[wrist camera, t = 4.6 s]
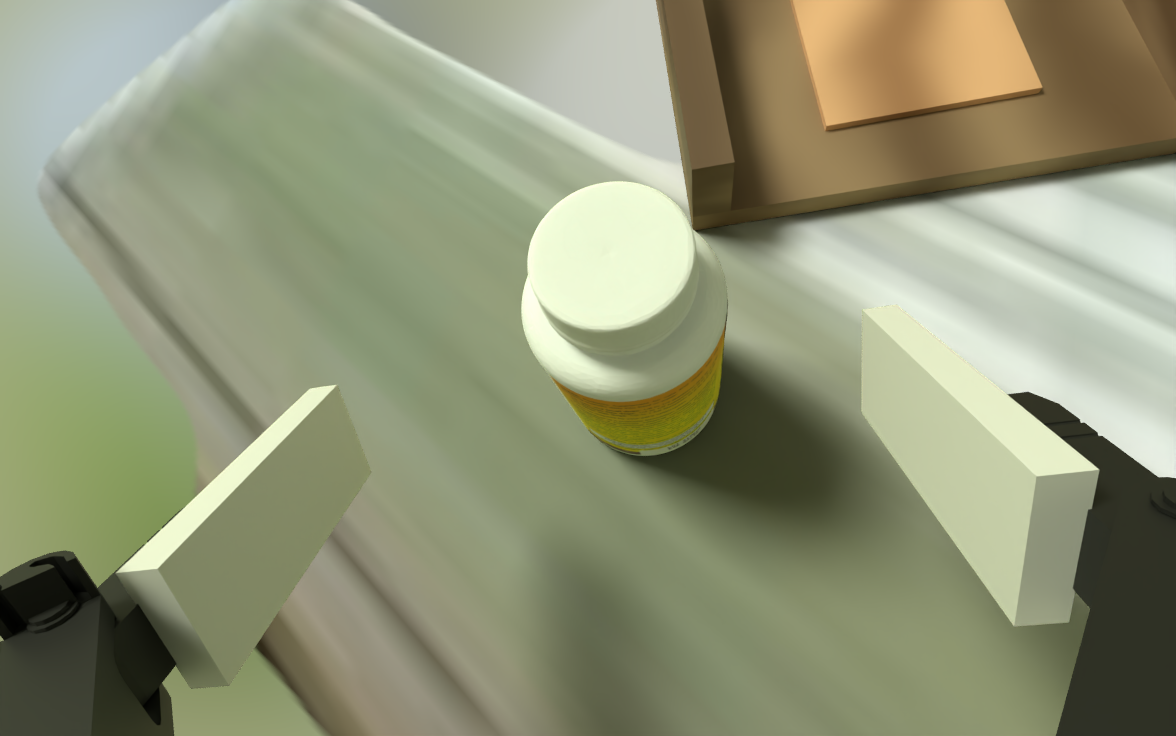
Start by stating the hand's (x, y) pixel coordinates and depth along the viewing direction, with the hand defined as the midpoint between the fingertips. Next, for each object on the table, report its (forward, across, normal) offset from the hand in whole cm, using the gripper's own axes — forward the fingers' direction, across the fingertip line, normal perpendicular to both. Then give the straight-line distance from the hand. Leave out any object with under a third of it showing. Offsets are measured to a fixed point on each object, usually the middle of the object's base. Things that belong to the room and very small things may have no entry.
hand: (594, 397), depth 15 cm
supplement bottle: (+8, +1, -4) cm, 9 cm away
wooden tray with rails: (+17, +14, +6) cm, 22 cm away
